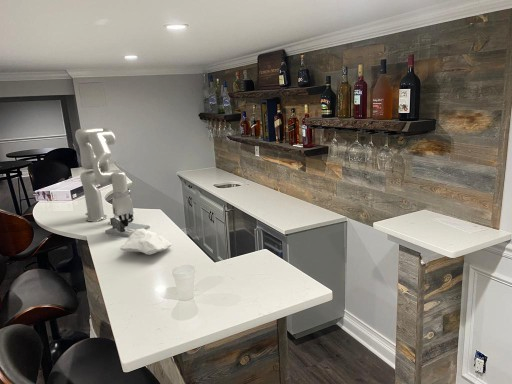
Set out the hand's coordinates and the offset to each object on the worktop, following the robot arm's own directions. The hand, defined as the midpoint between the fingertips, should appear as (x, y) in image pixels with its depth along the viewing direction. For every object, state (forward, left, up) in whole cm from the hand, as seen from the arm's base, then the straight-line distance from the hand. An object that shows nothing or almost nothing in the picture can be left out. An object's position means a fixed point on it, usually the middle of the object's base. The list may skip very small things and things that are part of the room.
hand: (125, 226), depth 217 cm
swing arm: (-5, -2, -1) cm, 5 cm away
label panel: (-4, +5, -5) cm, 8 cm away
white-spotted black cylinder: (-19, +18, -5) cm, 27 cm away
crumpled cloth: (+29, -14, -5) cm, 32 cm away
